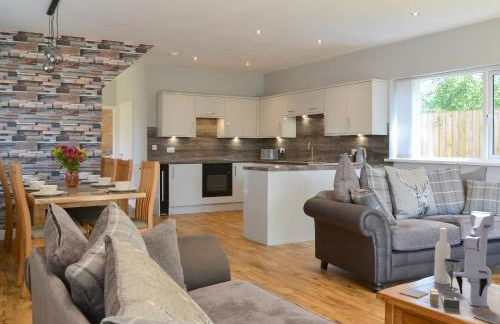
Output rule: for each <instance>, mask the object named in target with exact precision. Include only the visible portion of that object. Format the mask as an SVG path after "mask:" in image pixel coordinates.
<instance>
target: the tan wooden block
mask: <svg viewBox="0 0 500 324" xmlns="http://www.w3.org/2000/svg"><path fill="white" fill-rule="evenodd" d="M429 290H430V291H429V300H430V301H431V302H430V301H429V302H430V304H431V305H434V304H435V305H437V306H439V296H440V295H439V291H438V288H437V289H436V288H430V289H429Z"/></svg>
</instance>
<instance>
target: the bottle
mask: <svg viewBox="0 0 500 324" xmlns="http://www.w3.org/2000/svg"><path fill="white" fill-rule="evenodd" d="M447 238H448V229H447V228H446V227H440V228H439V240H438V241H437V242H436V244H435V247H434V249H435V250H434V270H433V272H434V273H433V274H434V276H433V278H434V279H433V281H434V283H435V284H439V285H449V284H450V282H451V279H450V276H449V275H448V273H447V272H446V271H445V267H444V259H451V250H452V249H451V245H450V243H449V242H448V240H447Z"/></svg>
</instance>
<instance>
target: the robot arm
mask: <svg viewBox="0 0 500 324" xmlns="http://www.w3.org/2000/svg"><path fill="white" fill-rule="evenodd" d="M469 217H470V218H469V220H470V223H471V224H470V225H471V227H470V228H469V230H468V233H467V235H466V236H465V237H464V238H463V253H464V262H463V263H464V265H463V266H464V268H463V269H464V270H463V271H459V272H453V277H454V278H455V279H456V282H457V285H458V289H459V294H460V295H463V284H464V283H463V282H464V281H463V280H464V279H467V280H466V281H467V282H468V284H469V286H470V296H469V298H468V299H467V300H468V303H469V305H470V306H476V307H483V308H490V305H489V304H488V291H489V290H488V287H491V285H492V280H493V279H492V269H490V268H489V267H488V266H487V265H486V264H487V263H486V261H487V251H488V249H487V248H488V236H489V233H490V231H493V230H494V227H495V213H494V211H491V212H490V211H489V212H488V211H478V210H477V211H476V210H471V211H470V216H469ZM463 278H464V279H463Z"/></svg>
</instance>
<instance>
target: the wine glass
mask: <svg viewBox="0 0 500 324" xmlns="http://www.w3.org/2000/svg"><path fill="white" fill-rule="evenodd" d="M461 263H462V262H461V260H459V259H457V258H456V259H455V258H450V259H444V267H445V271H446V272H447V273H448V275H449V276H450V286H444V287H443V289H445V290H447V291H453V292H454V291H455V292H457V291H460V289H459V287H458V288H457V287H456V286H455V287H454V285H453V281H454V278H455V277H453V272H460V270H461Z"/></svg>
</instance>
